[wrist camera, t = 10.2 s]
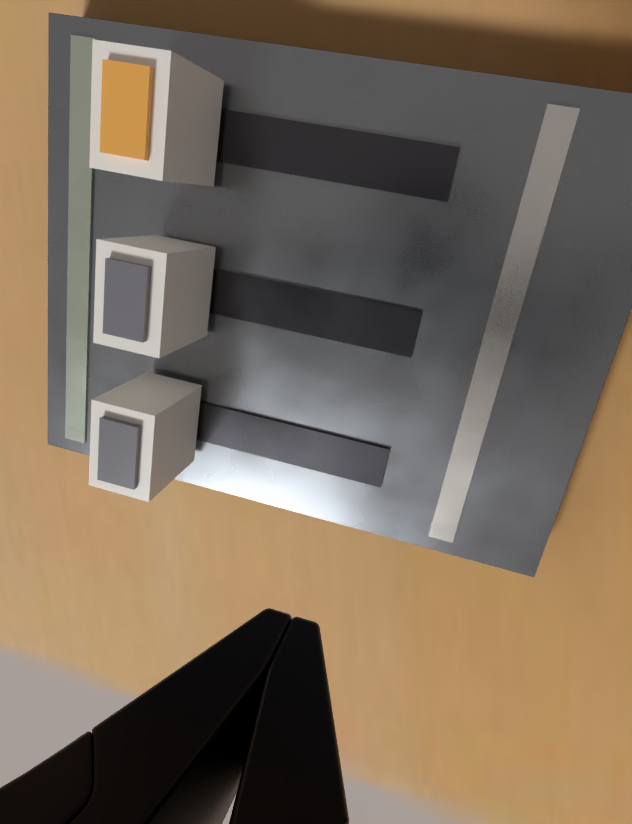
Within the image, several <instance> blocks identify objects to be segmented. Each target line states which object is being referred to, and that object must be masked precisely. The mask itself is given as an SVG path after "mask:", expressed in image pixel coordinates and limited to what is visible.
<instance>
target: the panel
mask: <svg viewBox="0 0 632 824" xmlns="http://www.w3.org/2000/svg"><path fill="white" fill-rule="evenodd" d="M93 39H94V40H101V41H108V42H114V43H121V44H128V45H135V46H142V47H149V48H156V49H163V50H170V51H173V52H174V53H176V54H178V55H180V56H182V57H183V58H185V59H187V60H189V61H190V62H192V63H194V64H196V65H198V66H199V67H201V68H203V69H205V70H207V71H208V72H210V73H212V74H214V75H215V76H217V77H219V78H221V79H223V80H224V87H223V97H222V107H221V118H220V128H219V138H218V148H217V159H216V169H215V179H214V187H212V186H203V185H194V184H185V183H176V182H167V181H160V180H154V179H149V178H143V177H138V176H132V175H127V174H122V173H116V172H111V171H105V170H100V169H95V168H89V160H90V121H91V82H92V42H93ZM148 235H159V236H164V237H169V238H174V239H179V240H183V241H188V242H193V243H198V244H203V245H208V246H213V247H216V251H215V261H214V270H213V280H212V290H211V300H210V310H209V320H208V329H207V336H205V337H203V338H201V339H199V340H197V341H195V342H193V343H191V344H189V345H186V346H184V347H182V348H180V349H178V350H176V351H174V352H172V353H170V354H168V355H166V356H163V357H161V358H155V357H151V356H147V355H143V354H138V353H134V352H130V351H126V350H122V349H118V348H113V347H109V346H105V345H101V344H97V343H93V332H94V299H95V267H96V239H104V238H119V237H133V236H148ZM631 308H632V93H625V92H618V91H611V90H604V89H596V88H589V87H582V86H575V85H567V84H560V83H553V82H546V81H539V80H531V79H524V78H517V77H510V76H503V75H495V74H488V73H481V72H474V71H467V70H459V69H452V68H445V67H438V66H431V65H423V64H416V63H409V62H402V61H395V60H387V59H380V58H373V57H366V56H359V55H351V54H344V53H337V52H330V51H323V50H315V49H308V48H301V47H294V46H287V45H279V44H272V43H265V42H258V41H250V40H243V39H236V38H229V37H222V36H214V35H207V34H200V33H193V32H186V31H178V30H171V29H164V28H157V27H150V26H142V25H135V24H128V23H121V22H114V21H106V20H99V19H92V18H85V17H78V16H70V15H63V14H56V13H49V100H48V444H49V445H53V446H57V447H60V448H64V449H68V450H71V451H75V452H79V453H82V454H86V455H90V430H91V400H92V399H94V398H96V397H98V396H100V395H102V394H104V393H106V392H108V391H110V390H112V389H114V388H116V387H118V386H120V385H122V384H124V383H126V382H128V381H130V380H132V379H134V378H136V377H138V376H140V375H142V374H144V373H146V372H149V373H154V374H158V375H162V376H166V377H170V378H174V379H178V380H182V381H186V382H190V383H195V384H199V385H202V388H201V398H200V408H199V418H198V428H197V437H196V447H195V457H194V461H193V462H192V463H191V464H190V465H189V466H188V467H186V468H185V469H184V470H183V471H182V472H181V473H180V474H179V475H178V476H177V477H176V478H174V479H177V480H181V481H185V482H188V483H192V484H195V485H199V486H203V487H206V488H210V489H214V490H217V491H221V492H225V493H228V494H232V495H236V496H239V497H243V498H247V499H250V500H254V501H258V502H261V503H265V504H269V505H272V506H276V507H279V508H283V509H287V510H290V511H294V512H298V513H301V514H305V515H309V516H312V517H316V518H320V519H323V520H327V521H331V522H334V523H338V524H342V525H345V526H349V527H353V528H356V529H360V530H363V531H367V532H371V533H374V534H378V535H382V536H385V537H389V538H393V539H396V540H400V541H404V542H407V543H411V544H415V545H418V546H422V547H426V548H429V549H433V550H436V551H440V552H444V553H447V554H451V555H455V556H458V557H462V558H466V559H469V560H473V561H477V562H480V563H484V564H488V565H491V566H495V567H499V568H502V569H506V570H510V571H513V572H517V573H520V574H524V575H528V576H531V577H534V576H535V573H536V571H537V568H538V565H539V562H540V559H541V557H542V554H543V551H544V548H545V546H546V543H547V540H548V537H549V535H550V532H551V529H552V526H553V523H554V521H555V518H556V515H557V512H558V510H559V507H560V504H561V501H562V499H563V496H564V493H565V490H566V488H567V485H568V482H569V479H570V476H571V474H572V471H573V468H574V465H575V463H576V460H577V457H578V454H579V452H580V449H581V446H582V443H583V440H584V438H585V435H586V432H587V429H588V427H589V424H590V421H591V418H592V416H593V413H594V410H595V407H596V405H597V402H598V399H599V396H600V393H601V391H602V388H603V385H604V382H605V380H606V377H607V374H608V371H609V369H610V366H611V363H612V360H613V357H614V355H615V352H616V349H617V346H618V344H619V341H620V338H621V335H622V333H623V330H624V327H625V324H626V322H627V319H628V316H629V313H630V310H631Z"/></svg>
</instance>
